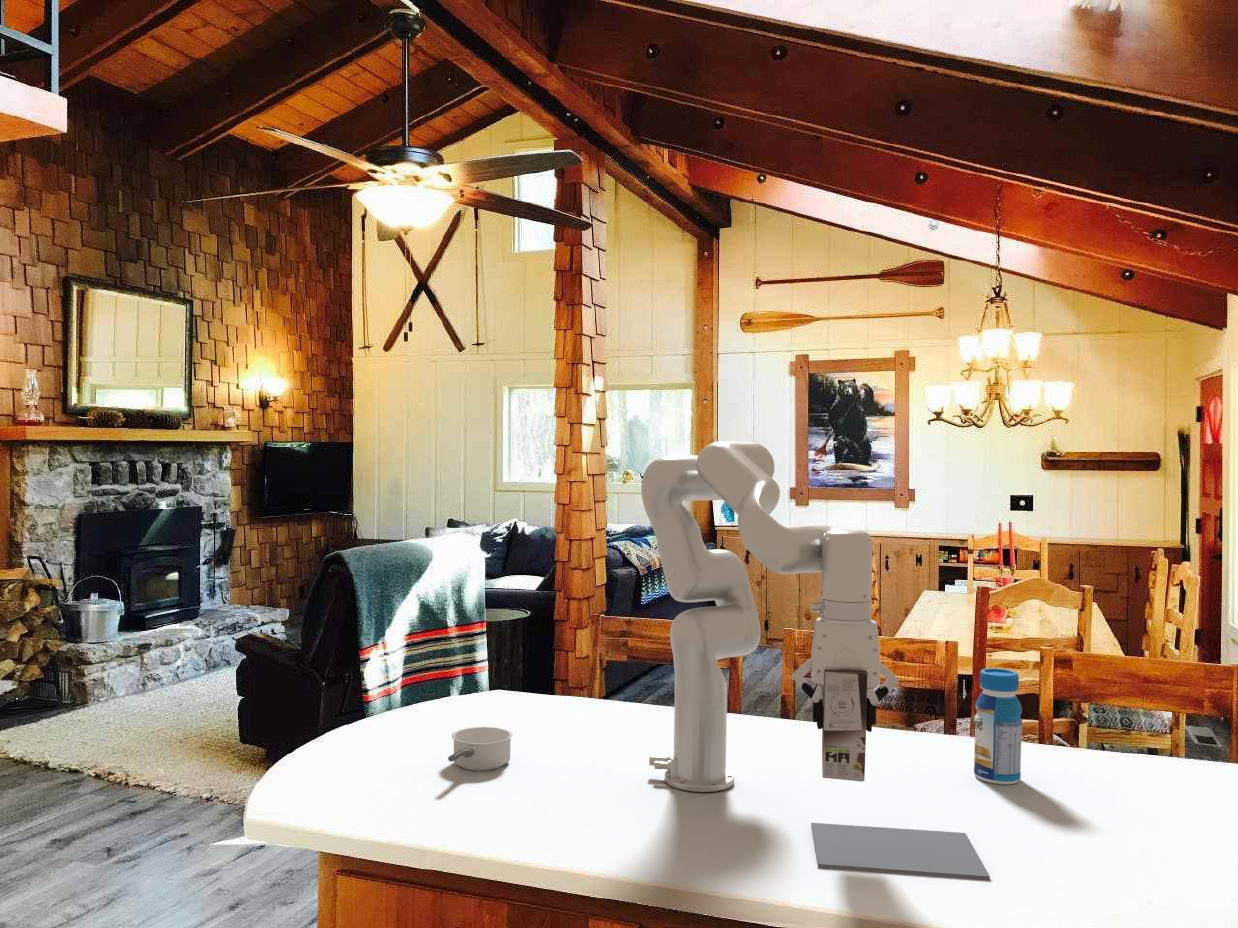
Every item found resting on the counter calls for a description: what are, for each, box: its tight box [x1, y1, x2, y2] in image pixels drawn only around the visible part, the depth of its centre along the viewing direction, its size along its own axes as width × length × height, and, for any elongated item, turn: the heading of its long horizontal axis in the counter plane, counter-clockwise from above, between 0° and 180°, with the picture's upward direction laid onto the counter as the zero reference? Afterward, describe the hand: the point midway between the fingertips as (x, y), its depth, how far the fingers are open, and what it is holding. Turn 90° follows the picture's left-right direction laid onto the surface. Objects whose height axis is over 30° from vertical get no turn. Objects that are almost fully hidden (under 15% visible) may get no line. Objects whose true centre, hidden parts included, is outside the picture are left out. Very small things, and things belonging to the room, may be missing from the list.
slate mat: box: [810, 822, 991, 881], centre depth 148 cm, size 24×16×1 cm, turn 82°
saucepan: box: [447, 726, 513, 772], centre depth 182 cm, size 12×20×6 cm, turn 165°
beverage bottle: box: [973, 667, 1024, 786], centre depth 183 cm, size 8×8×20 cm
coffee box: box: [821, 670, 868, 783], centre depth 149 cm, size 9×6×16 cm
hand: (843, 726), depth 149 cm, fingers closed on coffee box, 6 cm apart
